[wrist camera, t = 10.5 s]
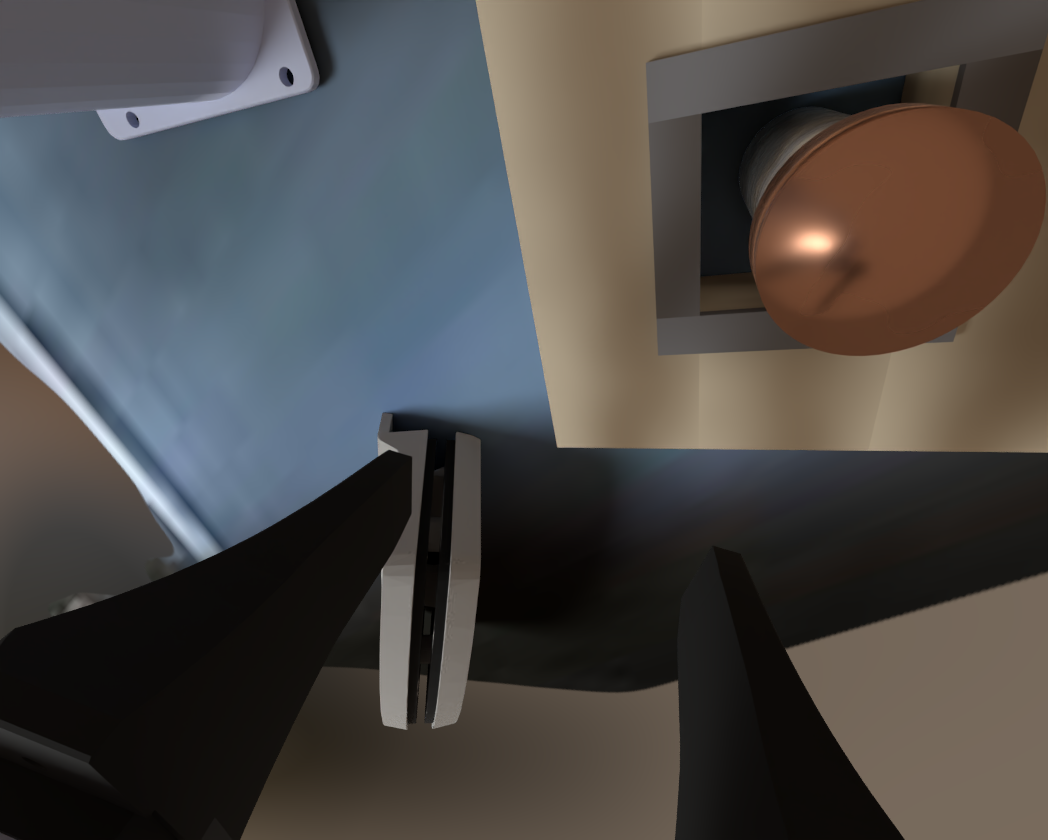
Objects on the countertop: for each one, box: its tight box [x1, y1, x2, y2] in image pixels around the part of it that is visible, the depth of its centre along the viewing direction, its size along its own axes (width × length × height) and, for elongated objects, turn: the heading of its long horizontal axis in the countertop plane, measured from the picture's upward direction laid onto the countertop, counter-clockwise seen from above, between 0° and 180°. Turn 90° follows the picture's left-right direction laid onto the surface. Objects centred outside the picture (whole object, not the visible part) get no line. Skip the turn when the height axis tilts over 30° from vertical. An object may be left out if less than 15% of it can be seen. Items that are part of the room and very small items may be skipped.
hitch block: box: [476, 0, 1048, 452], centre depth 13 cm, size 15×15×3 cm
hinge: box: [378, 413, 481, 730], centre depth 25 cm, size 17×5×10 cm, turn 170°
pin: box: [739, 103, 1046, 356], centre depth 11 cm, size 4×4×8 cm
